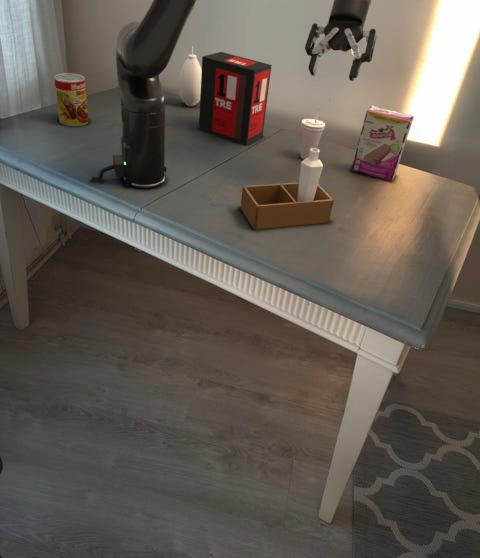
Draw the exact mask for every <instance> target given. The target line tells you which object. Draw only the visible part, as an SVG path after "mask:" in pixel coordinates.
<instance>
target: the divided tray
mask: <svg viewBox="0 0 480 558" xmlns="http://www.w3.org/2000/svg"><path fill="white" fill-rule="evenodd" d="M298 189H299V182H286V183H285V182H284V183H270V184H254V185H242V191H241V200H240V207H239V208H240V210H241V212H242V213H243V215H244V217H245V218H246V219H247V221H248V223H249V224H250V225H251V228H252V229H253V230H265V229H275V228H287V227H296V226H305V225H317V224H318V225H319V224H328V223H329V222H330V218H331V215H332V214H331V213H332V210H333V206H334V201H335V200H334V199H333V198H332V196H330V194H329V193H327V191H326V190H325V189H324V188H323V187H322V186H321V185H320V184H319V183H318V186H317V189H316V193H315V196H314V200H313V201H305V202H297V198H298Z"/></svg>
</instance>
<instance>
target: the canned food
mask: <svg viewBox="0 0 480 558" xmlns="http://www.w3.org/2000/svg"><path fill="white" fill-rule="evenodd" d="M53 80H54V88H55V89H54V90H55V96H56V104H57V112H58V120H59V121H58V122H59V123H60V124H61V125H63V126H68V127H82V126H85V125H87V124H88V123H89V114H88V113H89V111H88V101H87V99H88V98H87V89H86V88H87V87H86V78H85V76H84V75H82V74H78V73H74V72H73V73H70V72H67V73H66V72H65V73H64V72H63V73H59V74H56V75H54V77H53Z"/></svg>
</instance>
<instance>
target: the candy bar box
mask: <svg viewBox="0 0 480 558" xmlns="http://www.w3.org/2000/svg"><path fill="white" fill-rule="evenodd" d="M413 121H414V115H411V114H408V113H404V112H399V111H394V110H391V109H388V108H383V107H380V106H375V105H370V106H369V108H367V109H366V112H365V115H364V120H363V123H362V128H361V131H360V136H359V139H358V143H357V146H356V151H355V154H354V158H353V162H352V166H351V171H353V172H356V173H359V174H362V175H367V176H370V177H373V178H378V179H380V180H381V179H382V180H384V181H388V182H392V181H393V180H394V178H395V177H396V175H397V171H398V168H399V165H400V161H401V159H402V155H403V152H404V149H405V145H406V142H407V140H408V136H409V133H410V131H411V127H412V124H413Z"/></svg>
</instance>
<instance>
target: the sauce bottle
mask: <svg viewBox="0 0 480 558" xmlns="http://www.w3.org/2000/svg"><path fill="white" fill-rule="evenodd" d="M201 74H202V65H201V64H200V62H199V60H198V57H197V55H196V54H194V46H193V45H192V46H191V53H189V54H188V55H187V58H186V59H185V61H184V63H183V65H182V67H181V70H180V73H179V78H178V94H179V97H180V99H181V101H182V102H183V103H184V104H185V105H186V106H187V107H194V106H196V105H197V104H198V103H200V95H201Z"/></svg>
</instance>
